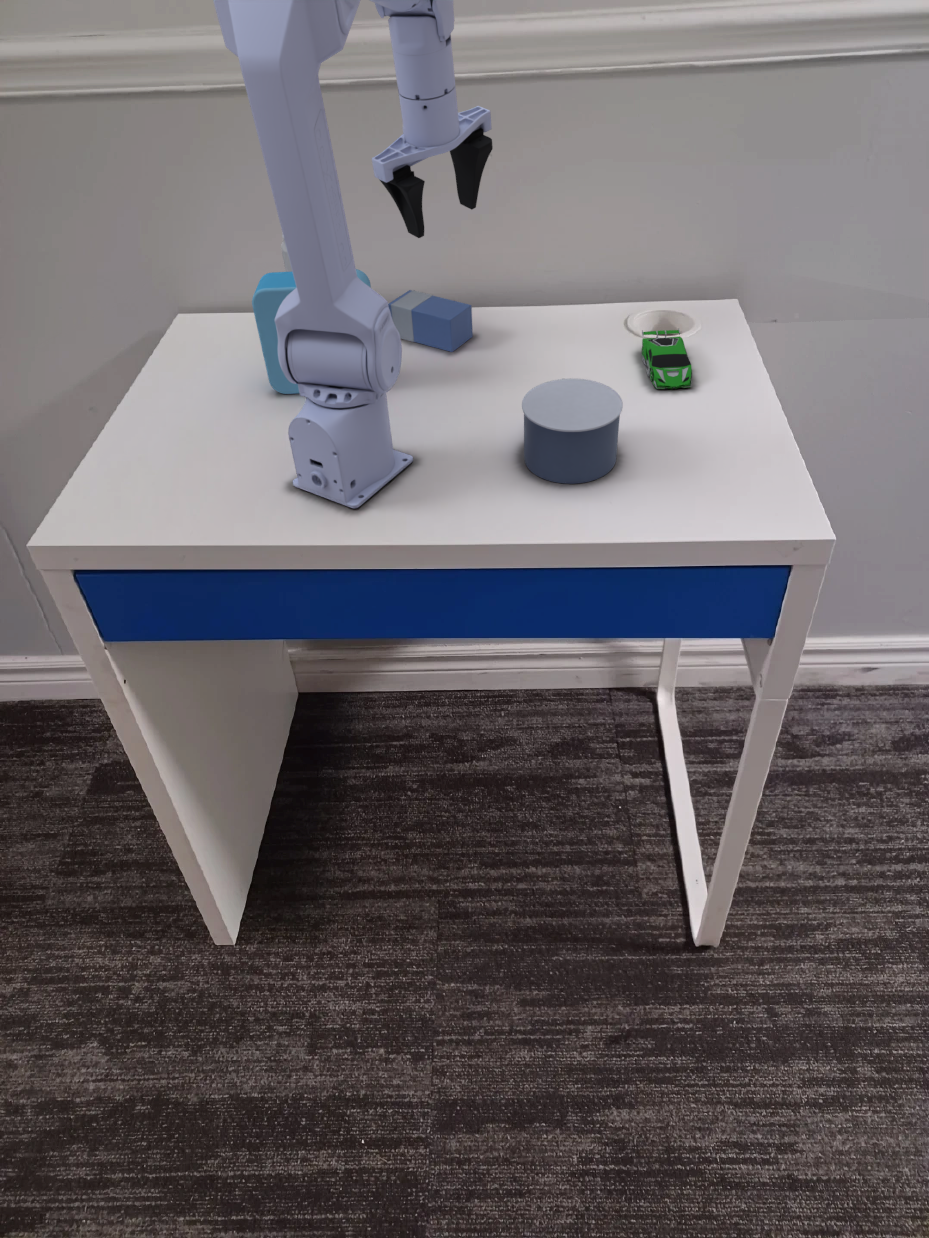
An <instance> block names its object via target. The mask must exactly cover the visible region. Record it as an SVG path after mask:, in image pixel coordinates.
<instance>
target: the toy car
mask: <svg viewBox="0 0 929 1238" xmlns="http://www.w3.org/2000/svg"><path fill="white" fill-rule="evenodd" d="M671 334H672V335H673V334H679V336H669V337H667V335H671ZM648 335H651V336H652V335H653V336H654V335H656V337H644V336H648ZM659 335H664V337H659ZM680 335H681V329H680V328H678V329H669V330H666V329H665V330H663V329H662V330H650V331H649V330H648V331H644V330H643V329H642V330H641V336H642V337H643V338H642V339H641V340H642V341H641V357H642V358H641V361H642V362H643V364H644V365H645V366H646V367H645V370H646V374H647V377H649V378H650V383H652V385H653V387H655V389H656V390H657V389H658V390H665V389H670V390H673V389H675V390H676V389H680V388H682V389H685V388H692V383H693V382H692V381H693V379H692V377H693V369H692V367H693V366H692V363H691V361H690V358H689V357H688V353H687V350H686V347H685V342H684V339H683V338H682V337H681V336H680Z"/></svg>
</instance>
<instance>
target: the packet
mask: <svg viewBox="0 0 929 1238" xmlns="http://www.w3.org/2000/svg"><path fill="white" fill-rule="evenodd" d="M388 306H389V309H390V313H391V317H392V320H393V323H394V325H395V327H396V328H397V330H398V332H399V334H400V338H401V340H405V341H408V342H411V343H417V344H421V345H424V346H428V347H432V348H435V349H439V350H443V351H446V352H450V353H453V352H455V351H456V350H457V349H458V348H460V347H461V346H462V345H464V344H465V343H466V342H468V341H469V340H471V339H472V338H473V337H474V335H473V310H472V304H468V303H465V302H461V301H457V300H452V299H448V298H444V297H441V296H436V295H434V294H431V293H426V292H423V291H419V290H414V289H413V290H412V289H409V290H407V291H406V292H404V293H402V294H401V295H400V296H397V298H395V299H394V300H392V301H390V302H388Z"/></svg>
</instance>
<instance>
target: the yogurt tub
mask: <svg viewBox="0 0 929 1238" xmlns="http://www.w3.org/2000/svg"><path fill="white" fill-rule="evenodd" d="M623 402H624V401H623V399H622V397H621V395H620V394H619V393H618V392H617V391H616V390H615V389H613V388H612V387H610V386H609V385H606V384H604V383H602V382H600V381H599V382H598V381H596V380H591V379H587V378H586V379H585V378H573V377H572V378H560V379H552V380H549V381H545V382H542V383H540V384H538V385H535V386H534V387H532V388H531V389H530V390H528V391H527V392H526V393H525V395H524V396H523V398H522V401H521V411H522V413H523V460H524V464H525V466H526V467H527V469H528V470H529V471H530V472H531V473H532V474H533V475H535V476H537V477H539V478H541V479H543V480H545V481H549V482H553V483H558V484H565V485H566V484H569V485H573V484H574V485H575V484H585V483H589V482H592V481H596V480H598V479H600V478H602V477H604V476H606V475H608V473H610V472H611V471H612V469H613V468H614V467H615V464H616V462H617V455H618V442H619V431H620V430H619V429H620V418H621V417H620V416H621V413H622V412H623V407H624V403H623Z"/></svg>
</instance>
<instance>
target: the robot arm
mask: <svg viewBox="0 0 929 1238" xmlns="http://www.w3.org/2000/svg"><path fill="white" fill-rule="evenodd" d="M361 1H362V0H212V2H213V6H214V9H215V13H216V17H217V20H218V24H219V27H220V30H221V34H222V38H223V42H224V46H225V47H226V49H227V50H228V51H229V52H231V53H232V54H233V55H235V56H236V57H237V58H238V62H239V67H240V71H241V75H242V78H243V83H244V88H245V92H246V95H247V99H248V103H249V106H250V110H251V114H252V118H253V122H254V126H255V130H256V134H257V138H258V142H259V145H260V150H261V153H262V157H263V162H264V165H265V170H266V173H267V177H268V181H269V186H270V189H271V193H272V197H273V200H274V205H275V208H276V213H277V217H278V220H279V225H280V228H281V232H282V234H283V236H284V240H285V244H286V248H287V252H288V256H289V260H290V264H291V268H292V272H293V276H294V280H295V284H296V289H294V290H293V291H292V292H291V293H290V294H288V295H287V297H286V298H285V299H284V300H283V301H282V303H281V305H280V307H279V309H278V311H277V314H276V317H275V324H276V329H277V335H278V359H279V363H280V366H281V369H282V371H283V373H284V375H285V377H286V378H287V379H288V381H290V382H291V383H294V384H298V388H299V393H298V394H299V396H301V397H305V400H304V403H303V405H302V407H301V409H300V410H299V412H298V413H297V415H296V416H295V417H294V418H292V420H291V421H290V423H289V425H288V432H287V433H288V441H289V444H290V449H291V454H292V458H293V464H294V468H295V472H296V477H295V478H293V480H292V486H293V487H295V488H297V489H301V490H303V491H306V492H308V493H311V494H314V495H316V496H318V497H321V498H323V499H326V500H329V501H332V502H335V503H337V504H340V505H343V506H345V507H348V508H349V509H350V508H351V509H358V508H360V507H361V506H362V505H363V504H364V503H365V502H367V501H368V500H369V499H370V498H371V497H373V496H374V495H375V494H376V493H378V491H380V490H381V489H382V488H383V487H384V486H386V485H387V484H388V483H389V482H390V481H391V480H393V479H394V478H395V477H397V475H399V474H400V473H401V472H402V471H404V470H405V469H406V468H407V467H408V466H409V465H411V464H412V463H413V462H414V456H413V455H411V454H408V453H405V452H402V451H400V450H396V449H394V445H393V437H392V429H391V420H390V413H389V406H388V405H389V404H388V397H387V396H388V395H387V393H388V392H389V391H390V390H391V389H392V387H393V386H394V385H395V384H396V382H397V381H398V378H399V375H400V372H401V366H402V357H403V353H402V352H403V348H402V347H403V346H402V345H403V344H402V339H401V338H400V334H399V332H398V330H397V328H396V327H395V325H394V323H393V320H392V317H391V313H390V309H389V306H388V304H389V302H388V300H387V299H386V298H385V297H384V296H382V295H381V294H380V293H378V292H377V291H376V290H374V289H373V288H372V287H371V288H370V287H369V286H368V285H366V284H365V283H364V282H362V281H361V280H360V279H359V278H358V277H357V273H356V269H357V268H356V263H355V257H354V253H353V247H352V242H351V238H350V232H349V227H348V223H347V216H346V211H345V207H344V202H343V201H344V200H343V197H342V191H341V186H340V181H339V176H338V171H337V165H336V160H335V154H334V151H333V150H334V149H333V144H332V140H331V135H330V129H329V125H328V120H327V119H328V118H327V113H326V109H325V104H324V99H323V95H322V94H323V93H322V89H321V84H320V78H319V72H320V69H321V65H322V63H324V62H325V61H327V60H329V59H331V58H332V57H333V56H335V55H336V54H339V53H340V52H342V51H343V50H344V47H345V46H346V42H347V39H348V36H349V34H350V31H351V28H352V26H353V23H354V20H355V17H356V14H357V12H358V10H359V6H360V3H361ZM369 1H370V2H372V3H374V6H375V9H376V12H377V13H378V15H379V17H380V18H381V19H384V18H385V17H389V18H388V20H387V23H388V30H389V37H390V44H391V49H392V50H391V51H392V57H393V64H394V71H395V78H396V85H397V92H398V99H399V107H400V114H401V120H402V121H401V122H402V128H401V129H402V134H401V135H400V136H399V137H398V138H397V139H396V140H394V141H393V142H392V143H391V144H390V145H388V146H387V148H385V149H384V150H383V151H381V152H380V153H378V154H377V155H375V156H373V157H371V165H372V169H373V176H374V178H376V179H378V180H379V182H380V183H381V184H382V185H383V187H384V188H385V189H386V191H387V192H388V194H389V195H390V196H391V198H392V200H393V201H394V203H395V205H396V207H397V209H398V211H399V213H400V215H401V218H402V220H403V222H404V224H405V227H406V231H407V233H409V235H412V236H413V237H415V238H417V239H421V238H423V237H425V220H424V211H423V196H424V195H423V194H424V188H425V183H426V181H425V180H424V179H422V178H420V177H418V176H416V175H415V171H414V170H412V167H413V166H414V165H417V164H419V163H421V162H422V161H424V160H426V159H428V158H431V157H436V156H438V155H443V154H445V153H448V152H449V153H450V157H451V161H452V166H453V170H454V174H455V184H456V192H457V198H458V201H459V204H460V205H461V206H464V207H465V208H468V209H470V210H471V211H472V210H474V209H476V208H477V204H478V196H479V192H480V186H481V181H482V177H483V173H484V170H485V166H486V164H487V161H488V159H489V157H490V155H491V153H492V151H493V147H494V146H493V139H492V138H491V137H489V136H488V135H486V134H485V133H488V132H489V131H491V130H492V129H493V128H492V113H491V110H490V109H488V108H485V107H482V106H480V105H476V106H475V107H472V108H470V109H467V110H463V111H460V112H459V108H458V107H459V106H458V97H457V87H456V77H455V66H454V65H455V64H454V55H453V45H452V35H451V34H452V33H453V31H454V29H455V12H454V10H455V9H454V8H455V7H454V2H455V1H454V0H369Z"/></svg>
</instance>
